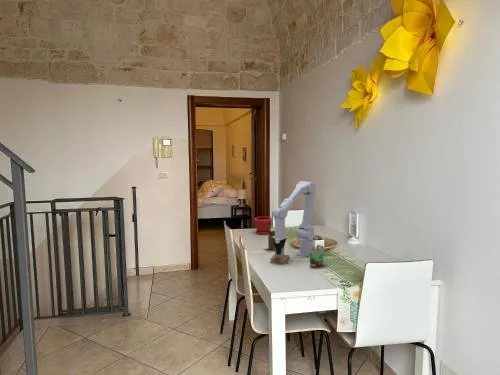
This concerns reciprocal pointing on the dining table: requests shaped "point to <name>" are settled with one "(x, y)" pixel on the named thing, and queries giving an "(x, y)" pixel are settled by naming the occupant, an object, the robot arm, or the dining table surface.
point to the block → (281, 253)
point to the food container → (316, 256)
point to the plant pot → (263, 225)
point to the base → (280, 259)
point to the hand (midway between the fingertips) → (280, 252)
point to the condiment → (271, 242)
